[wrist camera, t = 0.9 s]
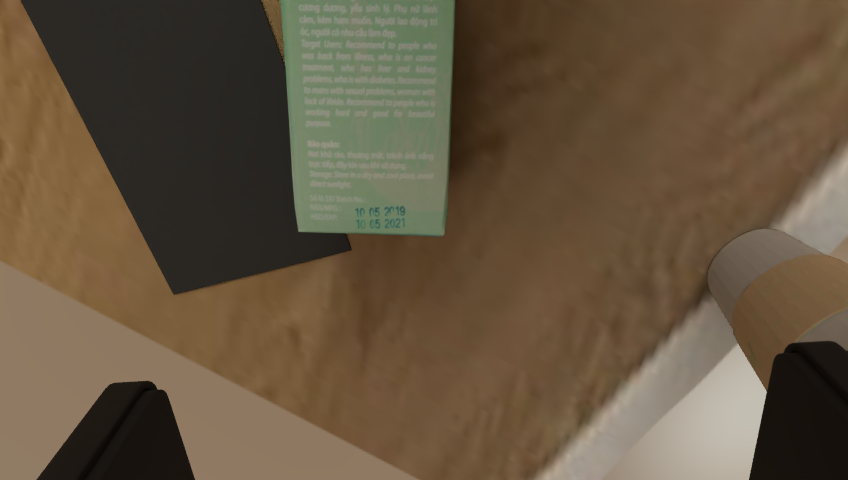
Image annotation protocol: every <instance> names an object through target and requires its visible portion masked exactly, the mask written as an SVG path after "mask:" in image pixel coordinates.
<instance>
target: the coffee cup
mask: <svg viewBox="0 0 848 480" xmlns="http://www.w3.org/2000/svg"><path fill="white" fill-rule="evenodd" d="M707 281H708V286H709V289H710V291H711V293H712V295H713V297H714V299H715V301H716V302H717V304H718V306H719V307H720V309H721V311H722V312H723V314H724V316H725V317H726V319H727V321H728V322H729V324H730V326H731V327H732V329H733V334H734V336H735V338H736V340H737V342H738V344H739V346H740V347H741V349H742V351H743V352H744V354H745V356H746V357H747V359H748V361H749V362H750V364H751V366H752V367H753V369H754V371H755V372H756V374H757V376H758V377H759V379H760V381H761V382H762V384H763V386H764V387H765V389H766V391H767V389H768V384H769V379H770V374H771V370H772V365H773V361H774V358H775V356H776V355H777V354H780V353H784V350H785V348H786V347H787V346H788V344H791V343H798V342H815V341H834V342H836V343H838V344H839V345H840V346H842V347H843V348H844V349H845V350H846V351H847V352H848V264H847V263H845V262H843V261H841V260H840V259H837V258H834V257H831V256H828V255H825V254H823V253H821V252H819V251H817V250H815V249H814V248H812V247H810V246H808V245H806V244H804V243H802V242H801V241H799V240H797V239H795V238H793V237H791V236H790V235H788V234H786V233H784V232H781V231H778V230H775V229H758V230H753V231H750V232H747V233H745V234H743V235H741V236H739V237H737V238H735V239H734V240H732V241H731V242H729V243H728V244H727V245H726V246H725V247H724V248H722V249H721V250H720V252H719V253H718V254H717V255H716V256H715V258H714V259H713V261H712V263H711V265H710V267H709V270H708V278H707Z"/></svg>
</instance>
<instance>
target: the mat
mask: <svg viewBox="0 0 848 480" xmlns="http://www.w3.org/2000/svg"><path fill="white" fill-rule="evenodd" d="M21 2H22V4H23V6H24V8H25V9H26V11H27V13H28V15H29V17H30V19H31V21H32V23H33V25H34V27H35V29H36V31H37V33H38V34H39V36H40V38H41V40H42V42H43V44H44V46H45V48H46V50H47V52H48V54H49V56H50V58H51V59H52V61H53V63H54V65H55V67H56V69H57V71H58V73H59V75H60V77H61V79H62V81H63V83H64V84H65V86H66V88H67V90H68V92H69V94H70V96H71V98H72V100H73V102H74V104H75V106H76V108H77V109H78V111H79V113H80V115H81V117H82V119H83V121H84V123H85V125H86V127H87V129H88V131H89V133H90V134H91V136H92V138H93V140H94V142H95V144H96V146H97V148H98V150H99V152H100V154H101V156H102V158H103V159H104V161H105V163H106V165H107V167H108V169H109V171H110V173H111V175H112V177H113V179H114V181H115V183H116V184H117V186H118V188H119V190H120V192H121V194H122V196H123V198H124V200H125V202H126V204H127V206H128V208H129V209H130V211H131V213H132V215H133V217H134V219H135V221H136V223H137V225H138V227H139V229H140V231H141V232H142V234H143V236H144V238H145V240H146V242H147V244H148V246H149V248H150V250H151V252H152V254H153V256H154V257H155V259H156V261H157V263H158V265H159V267H160V269H161V271H162V273H163V275H164V277H165V279H166V281H167V282H168V284H169V286H170V288H171V290H172V292H173V294H177V293H181V292H185V291H189V290H193V289H198V288H202V287H206V286H210V285H214V284H218V283H222V282H226V281H230V280H234V279H238V278H242V277H246V276H250V275H254V274H258V273H262V272H266V271H270V270H274V269H278V268H282V267H286V266H290V265H294V264H298V263H302V262H306V261H310V260H314V259H318V258H322V257H326V256H330V255H334V254H338V253H342V252H346V251H350V250H351V247H350V245H349V242H348V239H347V236H346V234H345V233H320V232H299V231H298V225H297V219H296V212H295V204H294V191H293V178H292V162H291V145H290V128H289V113H288V98H287V83H286V68H285V66H284V63H283V60H282V57H281V55H280V52H279V49H278V46H277V44H276V41H275V38H274V35H273V33H272V30H271V27H270V24H269V22H268V19H267V16H266V13H265V11H264V8H263V5H262V2H261V0H21Z"/></svg>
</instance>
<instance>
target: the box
mask: <svg viewBox="0 0 848 480" xmlns="http://www.w3.org/2000/svg"><path fill="white" fill-rule="evenodd" d="M280 1H281V14H282V28H283V41H284V55H285V68H286V83H287V98H288V113H289V128H290V145H291V162H292V178H293V191H294V204H295V212H296V219H297V225H298V231H299V232H320V233H350V234H380V235H410V236H433V237H437V236H444V233H445V225H446V218H447V211H448V190H449V164H450V137H451V109H452V81H453V54H454V27H455V0H280Z"/></svg>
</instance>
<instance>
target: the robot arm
mask: <svg viewBox="0 0 848 480" xmlns="http://www.w3.org/2000/svg"><path fill="white" fill-rule="evenodd" d="M37 480H195V478H194V475H193V472H192V469H191V466H190V463H189V460H188V457H187V454H186V451H185V447H184V444H183V441H182V438H181V435H180V432H179V429H178V426H177V423H176V420H175V417H174V413H173V411H172V407H171V404H170V401H169V398H168V396H167V393H166V392H165V391H164V390H157V388H156V386H155V385H154V384H153V383H152V382H150V381H138V382H123V383H113V384H110V385H109V386H108V387H107V388H106V389H105V390H104V391H103V393H102V394H101V395H100V397H99V398H98V399H97V401H96V402H95V403H94V405H93V406H92V407H91V409H90V410H89V411H88V413H87V414H86V415H85V417H84V418H83V419H82V420H81V422H80V423H79V424H78V426H77V427H76V428H75V430H74V431H73V432H72V434H71V435H70V436H69V438H68V439H67V440H66V442H65V443H64V444H63V446H62V447H61V448H60V449H59V451H58V452H57V454H56V455H55V456H54V458H53V459H52V460H51V461H50V463H49V464H48V465H47V467H46V468H45V470H44V471H43V472H42V473H41V475H40V476H39V477H38V479H37ZM749 480H848V352H847V351H846V350H845V349H844V348H843V347H842V346H840V345H839V344H838V343H836V342H834V341H815V342H798V343H791V344H788V346H787V347H786V348H785V350H784V353H780V354H777V355H776V356H775V358H774V361H773V365H772V370H771V374H770V379H769V384H768V389H767V394H766V399H765V404H764V409H763V414H762V419H761V424H760V429H759V434H758V438H757V444H756V448H755V453H754V458H753V463H752V468H751V473H750V478H749Z"/></svg>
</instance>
